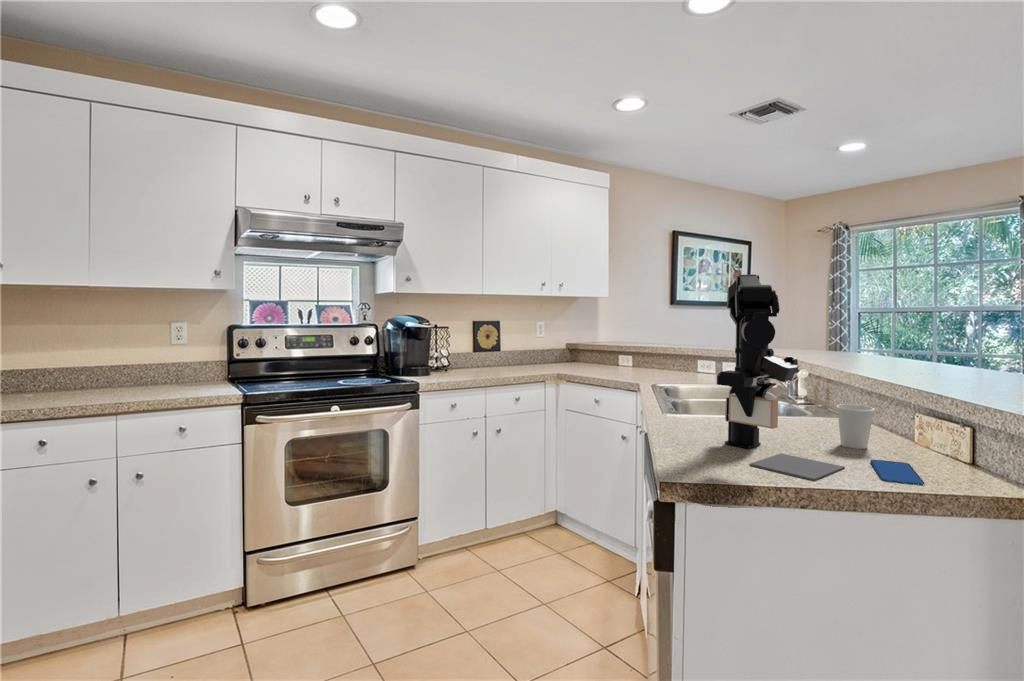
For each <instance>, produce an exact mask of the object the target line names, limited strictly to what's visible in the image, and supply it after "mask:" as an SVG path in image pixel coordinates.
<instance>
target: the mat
mask: <svg viewBox="0 0 1024 681" xmlns="http://www.w3.org/2000/svg"><path fill="white" fill-rule="evenodd" d="M749 466H751V467H755V468H758V469H763V470H768V471H771V472H775V473H779V474H784V475H789V476H792V477H798V478H801V479H804V480H809V481H813V482H815V481H819V480H820V479H824V478H825V477H828V476H831V475H832V474H835V473H837V472H840V471H843V470H845V468H846V466H843V465H840V464H839V465H838V464H832V463H829V462H823V461H820V460H814V459H810V458H805V457H802V456H801V457H800V456H795V455H791V454H785V453H781V452H780V453H778V454H776V455H772V456H769V457H765V458H763V459H760V460H757V461H753V462H751V463H749Z"/></svg>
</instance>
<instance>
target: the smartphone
mask: <svg viewBox="0 0 1024 681" xmlns="http://www.w3.org/2000/svg"><path fill="white" fill-rule="evenodd" d="M870 465H871V467H872V468H873V470H874V471H875V472H876V474H877V476H878V477H879V479H880V480H881V481H883V482H886V483H894V482H897V483H896V484H904V483H907V484H906V485H913V484H919V485H918V486H924V485H925V482H924V480H923V479H922V478H921V477H920V475H919V474H918V472H916V470H915V469H914V468H913V467H912V465H911V464H910V463H907V462H904V461H893V460H883V459H870ZM923 484H924V485H923Z"/></svg>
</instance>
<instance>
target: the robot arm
mask: <svg viewBox="0 0 1024 681" xmlns="http://www.w3.org/2000/svg"><path fill="white" fill-rule="evenodd" d="M735 279H736V280H735V281H734V283H732V284H731V285H730V286H729V287H728V288H727V297H726V308H727V309H729V317H730V319H731V320H732V321H733V323H734V324H735V348H734V353H735V366H734V370H723V371H720V372H719V373H718V374H716V385H719V386H725V387H729V388H730V389H729V391H728V395H729V394H733V393H735V394H736V396H737V398H738V400H739V402H740V404H741V406H742V408H743V410H744V412H745V414H746V416H747V417H752V413H753V408H754V400H755V396H758V397H766V395H767V392H768V391H769V390H771V389H772V388H773V387H776V386H777V383H775V382H771V380H776V381H778V382H780V383H785V382H787V381H790V382H792V381H793V379H794V376H795V374H797V373H799V372H800V370H799V367H800V366H799V363H798V358H797V357H794V356H791V355H789V356H786V357H785V358H784V359H783V358H782V357H776V356H774V354H775V352H774V350H773V348H769V344H771V343H772V342H773V340H774V338H775V336H776V329H775V326H774V324H773V323H772V322H771V321H770V320H769V319H770V318H769V317H771V318H773V317H774V318H776V317H778V314H780V304H779V296H778V294H777V293H776V292H777V291H776V290H775V289H773V287H772V285H771V284H762V283H761V281H760V275H759V274H739V275H736V278H735ZM724 414H725V415H724V419H725V421H726V422H728V426H727V430H728V431H727V433H728V434H727V440H726V441H724V444H725V445H729V444H730V445H729V446H735V447H738V448H745V449H750V448H754V447H756V446H757V447H758V446H760V445H761V442H760V428H759V426H754V425H748V424H743V423H737V422H731V421H729V397H726V399H725V408H724Z"/></svg>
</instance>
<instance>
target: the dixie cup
mask: <svg viewBox="0 0 1024 681" xmlns="http://www.w3.org/2000/svg"><path fill="white" fill-rule="evenodd" d="M835 407H836V408H837V409H836V410H837V419H838V426H839V427H838V428H839V429H838V430H839V437H840V439H839V440H840V445H841V446H842V447H845V448H850V449H859V450H861V449H862V450H864V449H867V448H868V445H869V440H870V435H871V430H872V428H871V427H872V424H873V417H874V412H875V410H876V409H875V408H874V407H872V406H870V405H869V406H868V405H864V404H855V403H840V404H837V405H836V406H835Z"/></svg>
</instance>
